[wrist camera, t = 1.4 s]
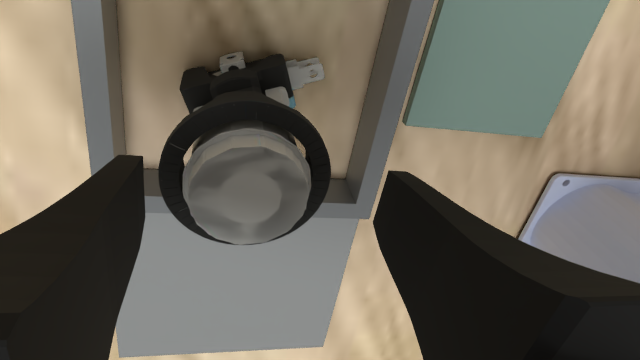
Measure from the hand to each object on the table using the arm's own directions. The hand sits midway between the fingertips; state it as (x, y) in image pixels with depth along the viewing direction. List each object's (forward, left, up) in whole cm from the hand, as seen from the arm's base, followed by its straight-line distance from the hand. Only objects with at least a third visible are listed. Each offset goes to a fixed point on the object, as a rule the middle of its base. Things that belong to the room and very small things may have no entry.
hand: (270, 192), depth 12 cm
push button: (0, 0, -10) cm, 10 cm away
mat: (-13, -4, -10) cm, 17 cm away
